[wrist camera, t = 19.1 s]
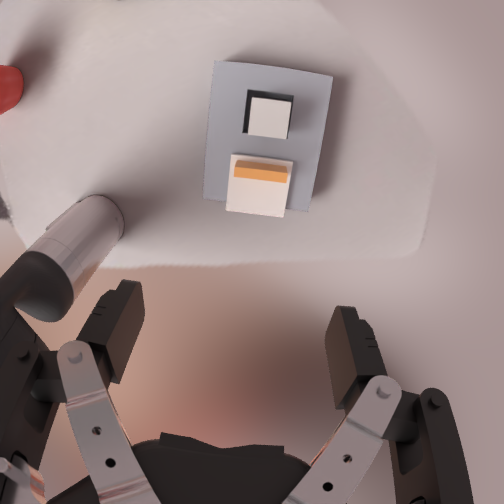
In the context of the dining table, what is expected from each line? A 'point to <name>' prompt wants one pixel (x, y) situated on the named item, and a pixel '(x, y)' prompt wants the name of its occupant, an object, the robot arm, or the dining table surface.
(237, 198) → the shutter
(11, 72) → the flower pot
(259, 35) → the dining table surface
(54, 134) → the dining table surface
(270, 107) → the plug
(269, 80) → the socket block
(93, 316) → the robot arm
